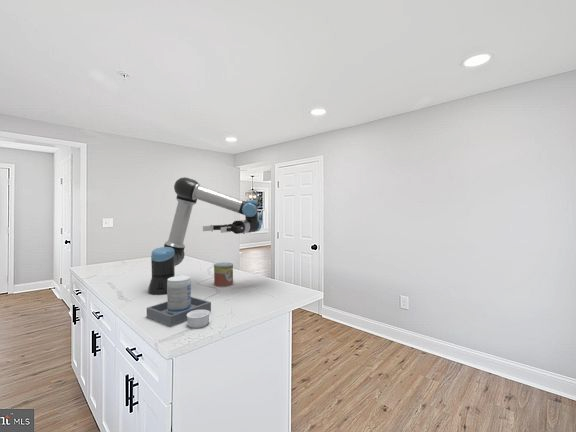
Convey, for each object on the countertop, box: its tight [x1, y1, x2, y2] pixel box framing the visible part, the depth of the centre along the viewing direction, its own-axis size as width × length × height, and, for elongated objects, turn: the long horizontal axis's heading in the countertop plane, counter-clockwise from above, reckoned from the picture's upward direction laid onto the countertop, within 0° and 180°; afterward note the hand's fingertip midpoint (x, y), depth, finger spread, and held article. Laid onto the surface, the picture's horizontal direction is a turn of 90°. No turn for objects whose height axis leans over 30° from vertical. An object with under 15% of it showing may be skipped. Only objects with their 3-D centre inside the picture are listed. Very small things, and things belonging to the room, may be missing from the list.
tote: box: [146, 296, 212, 327], centre depth 122 cm, size 17×20×4 cm
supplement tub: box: [166, 275, 192, 315], centre depth 122 cm, size 10×10×15 cm
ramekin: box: [187, 310, 211, 329], centre depth 112 cm, size 9×9×4 cm
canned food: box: [213, 262, 234, 288], centre depth 169 cm, size 11×11×12 cm
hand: (211, 229), depth 145 cm, fingers open, 13 cm apart
